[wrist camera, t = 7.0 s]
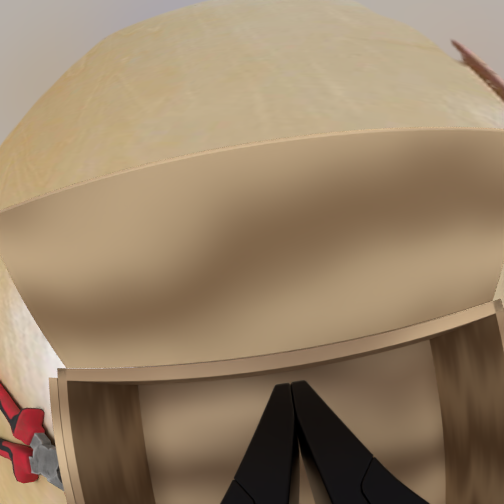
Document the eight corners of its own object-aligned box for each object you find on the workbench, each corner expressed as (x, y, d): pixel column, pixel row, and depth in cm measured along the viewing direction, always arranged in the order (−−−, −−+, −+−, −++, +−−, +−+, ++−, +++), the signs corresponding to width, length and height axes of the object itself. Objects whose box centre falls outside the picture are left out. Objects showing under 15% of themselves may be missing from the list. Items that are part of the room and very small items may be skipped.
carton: (455, 519, 13) (514, 556, 5) (160, 563, 14) (111, 616, 6) (438, 328, 20) (508, 295, 12) (126, 377, 21) (48, 367, 13)
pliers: (-50, 419, 18) (89, 539, 13) (-43, 349, 21) (98, 449, 16) (-31, 421, 21) (110, 528, 16) (-24, 355, 24) (121, 444, 19)
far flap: (522, 133, 8) (512, 129, 9) (-15, 219, 9) (-7, 212, 9) (492, 300, 12) (486, 293, 12) (66, 367, 13) (70, 359, 13)
